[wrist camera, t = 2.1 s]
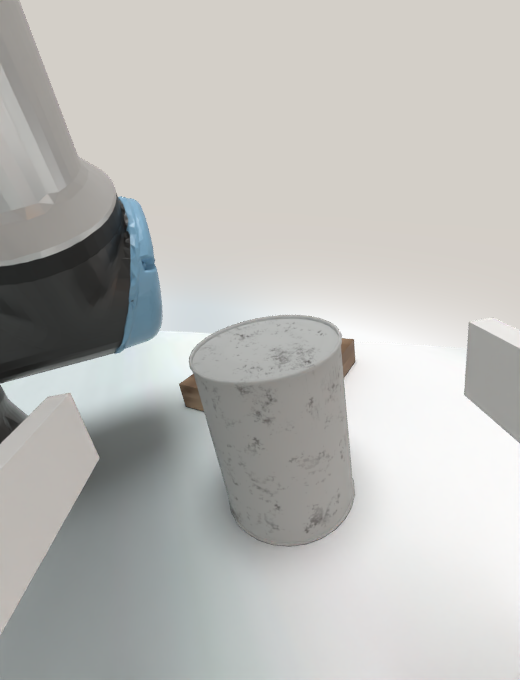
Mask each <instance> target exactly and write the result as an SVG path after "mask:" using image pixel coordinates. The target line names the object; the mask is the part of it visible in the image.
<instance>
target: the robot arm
mask: <svg viewBox="0 0 520 680" xmlns="http://www.w3.org/2000/svg"><path fill="white" fill-rule="evenodd" d="M154 262H155V259H154V255H153V246H152V242H151V237H150V233H149V229H148V225H147V222H146V218H145V215H144V213H143V211H142V208H141V206H140V204H139V203H138V202H137V201H136V200H134V199H131V198H130V199H128V198H125V197H123V198H122V197H117V194H116V190H115V187H114V185H113V182H112V181H111V179H110V178H109V177H108V175H107V174H106V173H104V172H103V171H102V170H100V169H99V168H97V167H96V166H94V165H92V164H90V163H89V162H87V161H85V160H83V159H81V158H80V157H78V155H77V152H76V149H75V147H74V144H73V142H72V139H71V136H70V134H69V131H68V128H67V126H66V123H65V120H64V118H63V115H62V112H61V110H60V107H59V104H58V102H57V99H56V97H55V94H54V91H53V88H52V86H51V83H50V81H49V78H48V75H47V73H46V70H45V67H44V65H43V62H42V59H41V57H40V54H39V51H38V49H37V46H36V43H35V41H34V38H33V36H32V33H31V30H30V27H29V25H28V22H27V20H26V17H25V14H24V12H23V9H22V6H21V4H20V1H19V0H0V383H4V382H8V381H11V380H15V379H19V378H23V377H26V376H30V375H34V374H38V373H42V372H45V371H49V370H53V369H57V368H60V367H64V366H68V365H72V364H75V363H79V362H83V361H87V360H91V359H94V358H98V357H102V356H106V355H109V354H113V353H115V354H116V353H120V352H122V351H123V350H124V349H126V348H128V347H131V346H134V345H137V344H140V343H143V342H146V341H148V340H150V339H152V338H153V337H155V336H156V335H157V333H158V332H159V330H160V328H161V324H162V301H161V291H160V285H159V278H158V273H157V269H156V266H155V264H154ZM464 395H465V396H466V397H467V398H468V399H469V400H471V401H472V402H473V403H474V404H475V405H476V406H478V407H479V408H480V409H481V410H482V411H483V412H484V413H486V414H487V415H488V416H489V417H490V418H491V419H493V420H494V421H495V422H496V423H497V424H498V425H499V426H501V427H502V428H503V429H504V430H505V431H506V432H508V433H509V434H510V435H511V436H512V437H513V438H514V439H516V440H517V441H518V442H519V443H520V330H519V329H517V328H515V327H512V326H510V325H508V324H506V323H504V322H501V321H499V320H497V319H495V318H487V319H482V320H476V321H470V322H469V330H468V344H467V359H466V374H465V389H464ZM99 459H100V458H99V455H98V453H97V451H96V449H95V447H94V444H93V442H92V440H91V438H90V435H89V433H88V431H87V429H86V427H85V424H84V422H83V420H82V418H81V415H80V413H79V411H78V409H77V407H76V404H75V402H74V400H73V398H72V395H71V393H66V394H61V395H55V396H50V397H47V398H46V399H45V400H44V401H43V402H42V403H41V404H40V405H39V406H38V407H37V408H36V409H35V410H34V411H33V412H32V413H31V414H30V415H29V416H28V415H26V414H25V413H24V412H23V411H22V410H20V409H19V408H18V407H17V406H16V405H14V404H13V403H12V402H11V401H10V400H9V399H8V398H7V396H6V394H5V392H4V391H3V389H2V387H1V385H0V635H1V634H2V632H3V630H4V628H5V626H6V625H7V623H8V621H9V619H10V617H11V616H12V614H13V612H14V610H15V609H16V607H17V605H18V603H19V601H20V600H21V598H22V596H23V594H24V592H25V591H26V589H27V587H28V585H29V584H30V582H31V580H32V578H33V576H34V575H35V573H36V571H37V569H38V567H39V566H40V564H41V562H42V560H43V559H44V557H45V555H46V553H47V551H48V550H49V548H50V546H51V544H52V542H53V541H54V539H55V537H56V535H57V534H58V532H59V530H60V528H61V526H62V525H63V523H64V521H65V519H66V517H67V516H68V514H69V512H70V510H71V509H72V507H73V505H74V503H75V501H76V500H77V498H78V496H79V494H80V492H81V491H82V489H83V487H84V485H85V484H86V482H87V480H88V478H89V476H90V475H91V473H92V471H93V469H94V467H95V466H96V464H97V462H98V460H99Z"/></svg>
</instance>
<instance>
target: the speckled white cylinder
mask: <svg viewBox="0 0 520 680" xmlns="http://www.w3.org/2000/svg"><path fill="white" fill-rule="evenodd" d="M341 344H342V335H341V333H340V331H339V329H338V328H337V327H336V326H335V325H333V324H332V323H331V322H329V321H326V320H323V319H321V318H316V317H312V316H303V315H278V316H269V317H262V318H256V319H252V320H248V321H244V322H240V323H237V324H234V325H231V326H229V327H226V328H224V329H221V330H219V331H217V332H215V333H213V334H211V335H210V336H208V337H206V338H205V339H204V340H202V341H201V342H200V343H198V344H197V346H196V347H195V348H194V349H193V350H192V352H191V354H190V357H189V365H190V369H191V370H192V371H193V374H194V377H195V381H196V384H197V388H198V391H199V395H200V398H201V402H202V405H203V409H204V412H205V416H206V419H207V423H208V427H209V430H210V434H211V437H212V441H213V444H214V448H215V451H216V455H217V458H218V462H219V465H220V469H221V472H222V476H223V479H224V483H225V486H226V490H227V493H228V497H229V503H230V508H231V512H232V514H233V516H234V518H235V520H236V522H237V523H238V524H239V525H240V526H241V528H242V529H243V530H244V531H245V532H246V533H248V534H249V535H251V536H253V537H254V538H256V539H258V540H260V541H263V542H266V543H269V544H272V545H281V546H295V545H303V544H307V543H310V542H313V541H316V540H318V539H321V538H323V537H324V536H326V535H328V534H329V533H331V532H332V531H334V530H335V529H336V528H337V527H338V526H339V525H340V524H341V523H342V522H343V521H344V520H345V518H346V516H347V515H348V513H349V511H350V509H351V507H352V504H353V500H354V495H355V492H354V480H353V478H352V469H351V458H350V446H349V435H348V423H347V412H346V400H345V388H344V377H343V365H342V354H341Z"/></svg>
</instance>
